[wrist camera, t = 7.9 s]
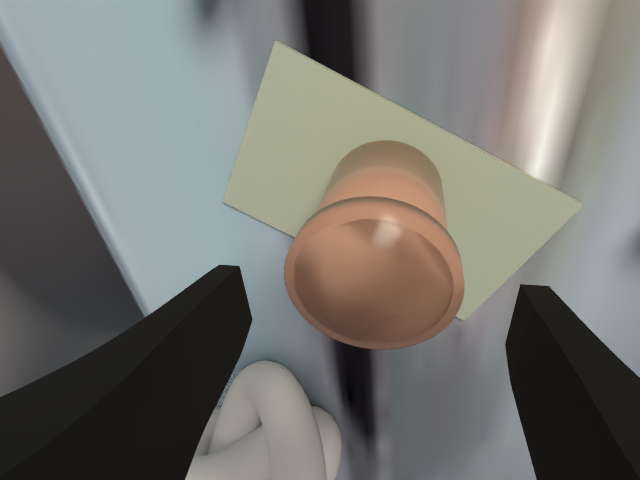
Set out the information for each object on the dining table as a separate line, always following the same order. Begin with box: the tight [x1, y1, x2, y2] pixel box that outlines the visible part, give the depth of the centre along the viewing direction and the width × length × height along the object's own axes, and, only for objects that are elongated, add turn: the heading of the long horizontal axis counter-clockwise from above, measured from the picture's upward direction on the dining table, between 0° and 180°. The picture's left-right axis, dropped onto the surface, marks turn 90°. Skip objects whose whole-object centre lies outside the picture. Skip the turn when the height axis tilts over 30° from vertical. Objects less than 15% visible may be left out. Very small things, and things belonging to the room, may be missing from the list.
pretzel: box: [185, 360, 342, 480], centre depth 25 cm, size 11×12×9 cm
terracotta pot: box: [284, 140, 465, 350], centre depth 15 cm, size 6×6×6 cm
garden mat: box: [222, 41, 584, 321], centre depth 18 cm, size 14×8×1 cm, turn 66°
